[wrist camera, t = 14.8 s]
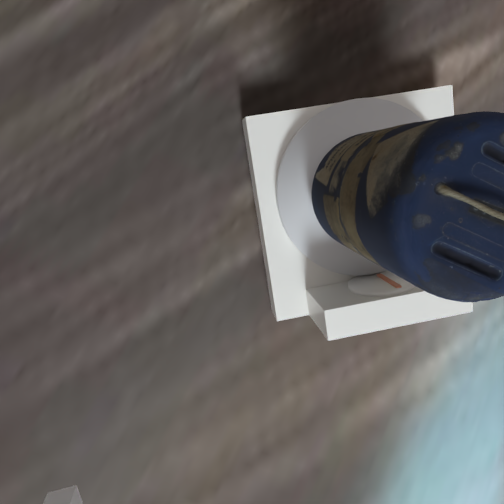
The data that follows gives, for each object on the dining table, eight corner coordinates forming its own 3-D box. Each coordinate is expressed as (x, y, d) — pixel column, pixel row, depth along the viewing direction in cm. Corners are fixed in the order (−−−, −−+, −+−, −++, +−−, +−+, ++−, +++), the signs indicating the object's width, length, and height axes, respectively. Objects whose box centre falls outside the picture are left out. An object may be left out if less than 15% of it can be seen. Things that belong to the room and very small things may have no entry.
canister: (355, 109, 35) (508, 51, 18) (436, 180, 37) (646, 192, 20) (283, 202, 36) (361, 236, 18) (366, 267, 38) (508, 354, 20)
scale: (241, 120, 38) (254, 106, 29) (433, 91, 40) (499, 69, 31) (271, 310, 42) (290, 348, 33) (445, 276, 43) (507, 304, 35)
